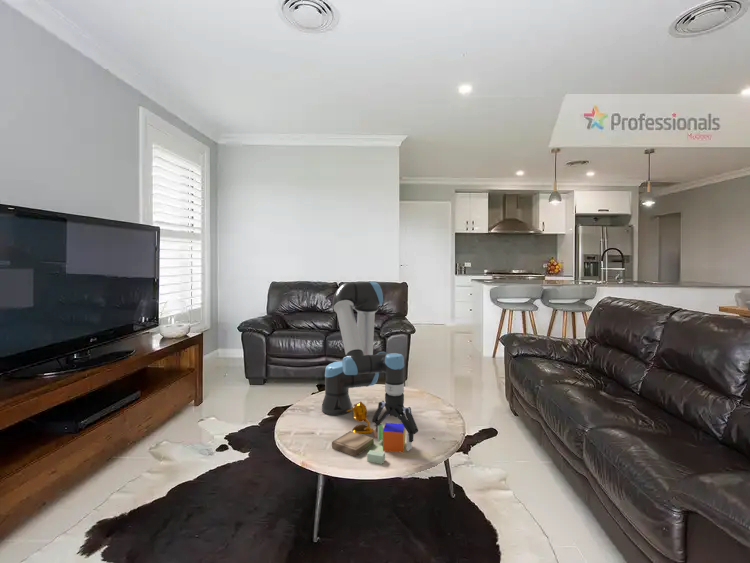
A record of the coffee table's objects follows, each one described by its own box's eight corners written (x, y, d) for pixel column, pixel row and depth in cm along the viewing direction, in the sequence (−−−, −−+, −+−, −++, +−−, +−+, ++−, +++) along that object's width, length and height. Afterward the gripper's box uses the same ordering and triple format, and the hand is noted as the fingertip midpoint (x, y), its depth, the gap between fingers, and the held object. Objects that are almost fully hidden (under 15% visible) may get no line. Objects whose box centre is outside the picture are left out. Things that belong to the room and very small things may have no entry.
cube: (405, 443, 160) (405, 424, 159) (403, 452, 152) (403, 432, 151) (385, 441, 161) (385, 422, 161) (383, 450, 153) (383, 431, 153)
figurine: (354, 424, 178) (354, 398, 177) (376, 428, 174) (376, 401, 173) (346, 431, 170) (346, 405, 169) (368, 436, 166) (369, 408, 165)
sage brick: (367, 461, 145) (367, 453, 145) (369, 457, 148) (369, 450, 148) (382, 464, 143) (382, 456, 143) (384, 460, 146) (384, 452, 146)
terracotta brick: (380, 438, 164) (380, 431, 164) (374, 437, 165) (374, 430, 165) (385, 432, 170) (385, 425, 170) (378, 431, 171) (378, 424, 171)
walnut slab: (331, 447, 155) (331, 441, 155) (350, 436, 165) (350, 430, 165) (355, 456, 149) (355, 449, 148) (373, 444, 158) (373, 437, 158)
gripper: (363, 389, 159) (363, 440, 160) (417, 402, 145) (417, 457, 146) (374, 384, 165) (373, 433, 166) (426, 396, 151) (426, 449, 153)
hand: (394, 444), depth 156 cm, fingers open, 13 cm apart
